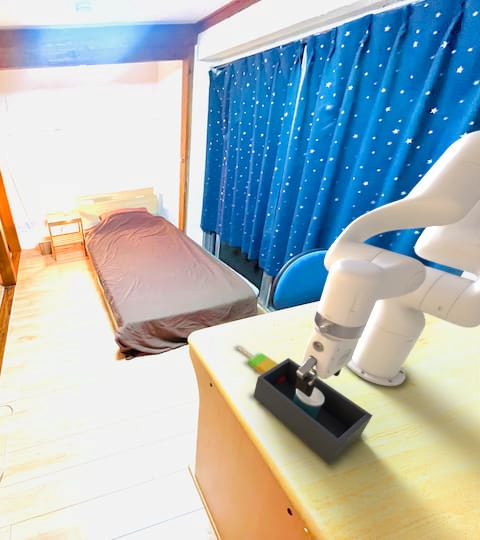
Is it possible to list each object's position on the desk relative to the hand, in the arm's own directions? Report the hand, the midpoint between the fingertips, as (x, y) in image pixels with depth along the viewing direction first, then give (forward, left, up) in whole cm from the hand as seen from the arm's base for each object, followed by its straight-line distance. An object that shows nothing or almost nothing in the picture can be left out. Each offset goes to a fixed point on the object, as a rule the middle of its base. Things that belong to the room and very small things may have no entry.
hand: (316, 381), depth 61 cm
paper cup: (+1, 0, -11) cm, 11 cm away
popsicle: (-4, -16, -12) cm, 20 cm away
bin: (+1, 0, -12) cm, 12 cm away
